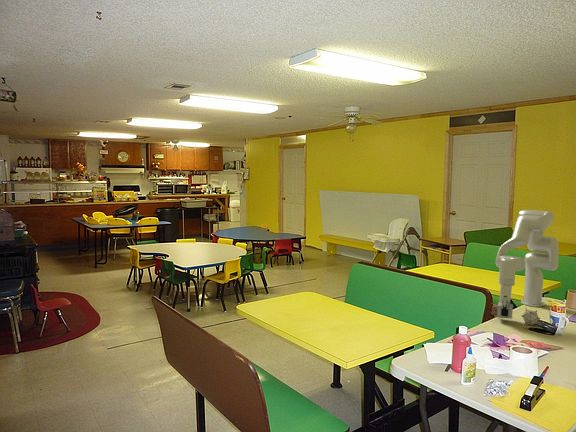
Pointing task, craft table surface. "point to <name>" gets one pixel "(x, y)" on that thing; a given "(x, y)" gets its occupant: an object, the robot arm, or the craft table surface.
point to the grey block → (510, 310)
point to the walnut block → (494, 309)
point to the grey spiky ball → (530, 317)
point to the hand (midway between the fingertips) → (504, 313)
